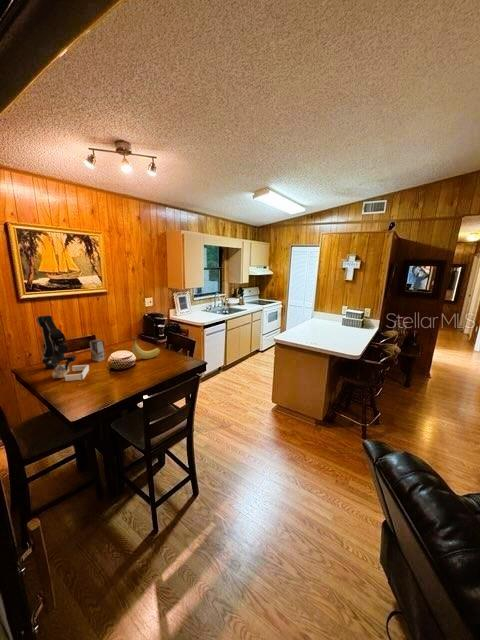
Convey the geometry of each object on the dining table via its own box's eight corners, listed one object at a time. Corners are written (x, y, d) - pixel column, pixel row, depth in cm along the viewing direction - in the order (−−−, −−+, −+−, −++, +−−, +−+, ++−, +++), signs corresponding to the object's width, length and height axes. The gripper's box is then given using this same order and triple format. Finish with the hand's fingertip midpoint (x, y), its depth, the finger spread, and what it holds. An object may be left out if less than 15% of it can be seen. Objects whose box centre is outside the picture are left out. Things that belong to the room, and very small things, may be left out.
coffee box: (105, 359, 219) (103, 340, 215) (98, 361, 213) (96, 342, 209) (98, 357, 222) (96, 338, 219) (91, 359, 217) (89, 340, 213)
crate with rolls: (52, 378, 179) (51, 371, 178) (59, 371, 190) (58, 364, 189) (64, 377, 181) (63, 370, 180) (69, 370, 192) (68, 363, 191)
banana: (158, 354, 232) (157, 332, 227) (161, 356, 227) (160, 334, 223) (132, 360, 218) (130, 336, 214) (134, 362, 214) (132, 338, 209)
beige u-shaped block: (65, 381, 179) (64, 375, 178) (73, 371, 195) (72, 365, 194) (83, 379, 182) (82, 374, 181) (89, 369, 198) (88, 364, 197)
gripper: (37, 354, 171) (40, 377, 175) (70, 352, 176) (72, 374, 180) (44, 349, 182) (47, 370, 185) (74, 347, 187) (77, 367, 190)
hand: (61, 370), depth 185 cm, fingers closed on crate with rolls, 7 cm apart
